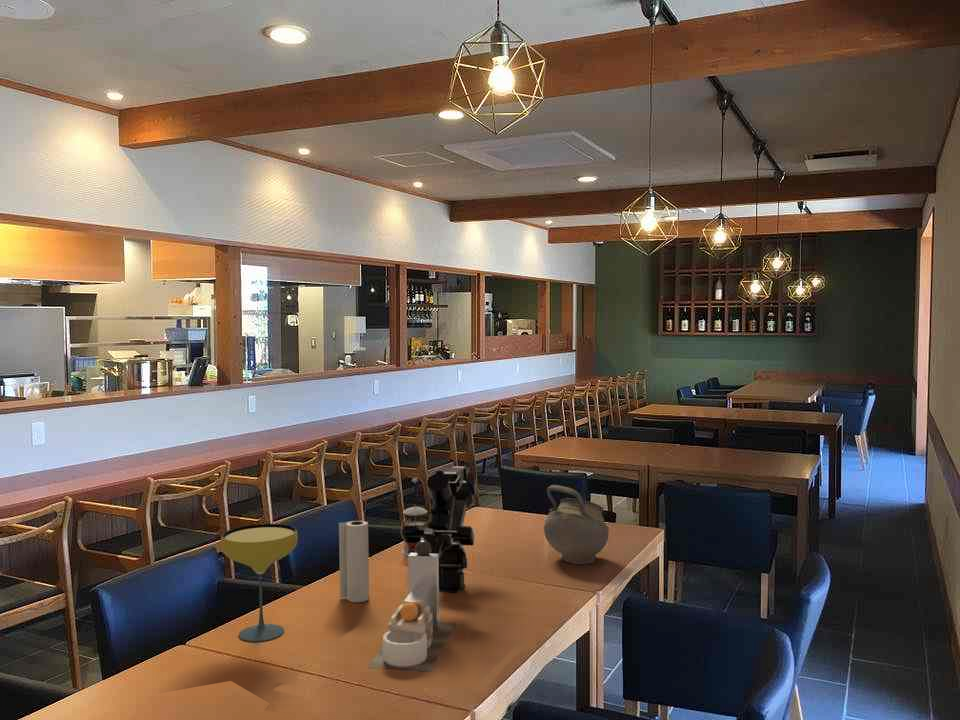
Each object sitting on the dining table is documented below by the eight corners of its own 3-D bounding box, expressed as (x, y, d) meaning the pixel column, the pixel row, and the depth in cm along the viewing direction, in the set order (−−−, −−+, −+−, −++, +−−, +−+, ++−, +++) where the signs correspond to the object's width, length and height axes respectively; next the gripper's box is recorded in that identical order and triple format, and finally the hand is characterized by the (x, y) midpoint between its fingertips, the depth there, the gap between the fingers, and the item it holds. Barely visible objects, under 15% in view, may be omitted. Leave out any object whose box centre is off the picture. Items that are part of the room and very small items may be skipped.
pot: (564, 573, 238) (563, 491, 237) (532, 555, 256) (532, 479, 255) (621, 564, 246) (621, 485, 245) (587, 548, 265) (586, 474, 264)
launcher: (400, 624, 197) (400, 586, 197) (455, 627, 195) (454, 589, 195) (366, 673, 170) (366, 629, 169) (429, 677, 168) (429, 632, 167)
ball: (397, 622, 177) (397, 604, 177) (406, 616, 181) (405, 599, 181) (412, 624, 176) (412, 607, 175) (421, 618, 179) (421, 601, 179)
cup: (375, 662, 172) (374, 640, 172) (397, 646, 181) (397, 625, 181) (413, 670, 168) (413, 647, 168) (434, 653, 177) (434, 631, 177)
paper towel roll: (373, 599, 217) (372, 522, 216) (356, 604, 212) (354, 526, 211) (357, 593, 221) (356, 518, 221) (340, 598, 217) (338, 522, 216)
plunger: (412, 622, 195) (411, 537, 194) (439, 623, 194) (438, 538, 193) (398, 643, 182) (397, 553, 181) (427, 645, 181) (426, 554, 180)
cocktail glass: (219, 626, 197) (217, 528, 196) (292, 615, 205) (290, 520, 204) (226, 653, 181) (224, 546, 180) (305, 640, 188) (303, 537, 187)
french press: (436, 551, 263) (435, 476, 262) (415, 559, 253) (414, 482, 252) (412, 546, 268) (411, 474, 267) (391, 555, 258) (390, 479, 257)
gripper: (479, 527, 218) (473, 579, 208) (414, 525, 221) (404, 577, 211) (474, 506, 210) (467, 559, 200) (406, 504, 213) (396, 556, 203)
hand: (433, 563), depth 203 cm, fingers closed
